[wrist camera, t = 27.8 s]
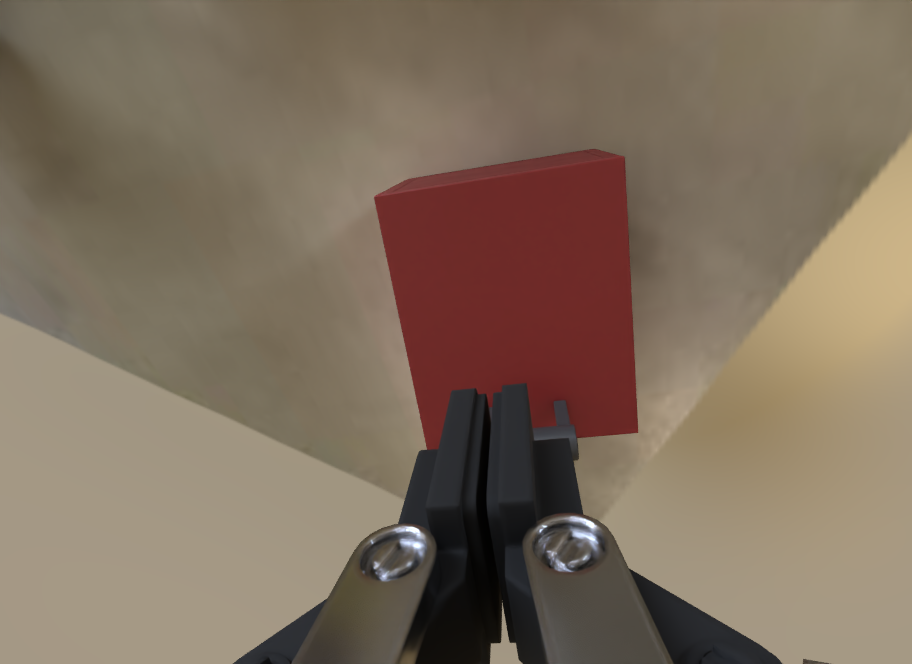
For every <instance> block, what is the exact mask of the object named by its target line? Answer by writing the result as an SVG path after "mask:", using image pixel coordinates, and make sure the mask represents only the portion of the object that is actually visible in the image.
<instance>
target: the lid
mask: <svg viewBox="0 0 912 664" xmlns="http://www.w3.org/2000/svg"><path fill="white" fill-rule="evenodd" d="M374 200H375V204H376V209H377V214H378V219H379V223H380V228H381V233H382V238H383V242H384V247H385V252H386V257H387V261H388V266H389V271H390V276H391V280H392V285H393V290H394V295H395V299H396V304H397V309H398V313H399V318H400V323H401V328H402V332H403V337H404V342H405V347H406V351H407V356H408V361H409V366H410V370H411V375H412V380H413V385H414V389H415V394H416V399H417V404H418V408H419V413H420V418H421V423H422V427H423V432H424V437H425V442H426V446H427V450H431V449H438V448H439V444H440V439H441V435H442V430H443V426H444V421H445V417H446V413H447V408H448V404H449V399H450V395H451V391H452V390H462V389H472V388H476V389H477V392H478V394H486V395H487V399H488V405H489V411H490V418H492V403H493V393H496V392H502V385H511V384H521V383H527V388H528V396H529V404H530V412H531V419H532V427H533V435H534V441H536V440H547V439H559V438H569V441H570V446H571V451H572V457H573V461H575V460H578V459H579V453H578V443H577V438H583V437H594V436H606V435H618V434H630V433H638V418H637V398H636V378H635V357H634V337H633V316H632V296H631V276H630V255H629V235H628V215H627V194H626V174H625V157H624V156H615V157H609V158H603V159H597V160H590V161H584V162H578V163H572V164H565V165H559V166H553V167H547V168H540V169H534V170H528V171H522V172H515V173H509V174H503V175H496V176H490V177H484V178H478V179H471V180H465V181H459V182H453V183H446V184H440V185H434V186H428V187H421V188H415V189H409V190H403V191H396V192H390V193H384V194H378V195H376V196H374Z"/></svg>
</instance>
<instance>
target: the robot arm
mask: <svg viewBox="0 0 912 664" xmlns="http://www.w3.org/2000/svg"><path fill="white" fill-rule="evenodd" d="M502 602H503V608H504V614H505V619H506V625H507V631H508V637H509V641H510V643H516V645H517V652H518V658H519V660H520V661H521V662H522V663H523V664H782V663H781V662H780V660H779V659H778V658H777V657H776V656H774V655H773V654H772V653H770V652H769V651H767V650H766V649H765V648H763V647H762V646H761V645H759V644H758V643H756V642H754V641H753V640H751V639H749V638H747V637H746V636H744V635H742V634H741V633H739V632H737V631H735V630H734V629H732V628H730V627H728V626H727V625H725V624H723V623H722V622H720V621H718V620H716V619H715V618H713V617H711V616H710V615H708V614H706V613H705V612H703V611H701V610H699V609H698V608H696V607H694V606H693V605H691V604H689V603H687V602H686V601H684V600H682V599H681V598H679V597H677V596H675V595H674V594H672V593H670V592H669V591H667V590H665V589H663V588H662V587H660V586H658V585H656V584H655V583H653V582H651V581H649V580H648V579H646V578H645V577H643V576H641V575H639V574H638V573H636V572H634V571H633V570H631V569H629V568H628V566H627V564H626V562H625V560H624V557H623V555H622V553H621V551H620V549H619V547H618V545H617V543H616V540H615V538H614V536H613V535H612V534H611V532H610V531H609V529H608V528H607V527H606V526H605V525H603V524H602V523H601V522H599V521H598V520H596V519H594V518H591V517H589V516H586V515H583V510H582V505H581V500H580V494H579V489H578V484H577V478H576V473H575V468H574V462H573V457H572V451H571V446H570V441H569V438H559V439H547V440H536V441H534V435H533V427H532V419H531V412H530V404H529V396H528V388H527V383H521V384H511V385H502V392H496V393H493V403H492V418H490V411H489V405H488V399H487V395H486V394H478V392H477V389H476V388H472V389H462V390H452V391H451V395H450V399H449V404H448V408H447V413H446V417H445V421H444V426H443V430H442V435H441V439H440V444H439V448H438V449H431V450H421V451H419V453H418V456H417V459H416V463H415V466H414V470H413V473H412V477H411V480H410V484H409V487H408V491H407V494H406V498H405V501H404V505H403V508H402V512H401V516H400V519H399V523H398V524H394V525H391V526H387V527H384V528H381V529H379V530H377V531H375V532H374V533H372V534H370V535H369V536H368V537H366V538H365V539H364V540H363V541H362V542H361V543H360V544H359V545H358V547H357V548H356V549H355V550H354V552H353V554H352V556H351V557H350V559H349V561H348V563H347V564H346V567H345V568H344V570H343V572H342V574H341V575H340V577H339V579H338V581H337V582H336V584H335V586H334V588H333V590H332V592H331V593H330V595H329V597H328V598H327V599H326V600H324V601H323V602H322V603H320V604H318V605H317V606H316V607H314V608H313V609H311V610H310V611H308V612H307V613H305V614H304V615H302V616H301V617H299V618H298V619H297V620H295V621H294V622H292V623H291V624H289V625H288V626H286V627H285V628H283V629H282V630H280V631H279V632H277V633H276V634H275V635H273V636H272V637H270V638H269V639H267V640H266V641H264V642H263V643H261V644H260V645H259V646H257V647H256V648H254V649H253V650H251V651H250V652H248V653H247V654H245V655H244V656H242V657H241V658H239V659H238V660H237V661H236V662H234V663H233V664H490V647H491V643H500V642H501V630H502V629H501V628H502V627H501V626H502ZM803 664H829V663H824V662H818V661H812V660H806V659H803Z"/></svg>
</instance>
